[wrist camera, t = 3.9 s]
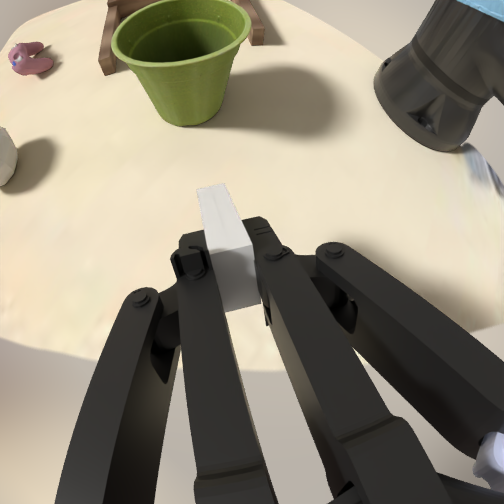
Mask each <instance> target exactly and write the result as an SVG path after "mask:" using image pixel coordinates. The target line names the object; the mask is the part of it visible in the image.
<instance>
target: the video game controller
mask: <svg viewBox="0 0 504 504" xmlns="http://www.w3.org/2000/svg"><path fill="white" fill-rule="evenodd" d="M43 47H44V45H43V44H42V43H41V42H32V43H19V44H15V47H13V48H12V49H11V51H10V52H9V54H8V58H9V60H10V62H11V64H12V65H13V66H12V69H13V70H14V71H15V72H17V73H18V74H21V75H29V74H37V73H41V72H44V71H47V70H49V69H50V68H51V67H52V66H53V60H52V59H51V58H31V57H29V56H32V55H35V54H37V53H39V52H40V51H42V49H43Z"/></svg>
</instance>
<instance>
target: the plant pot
mask: <svg viewBox="0 0 504 504" xmlns="http://www.w3.org/2000/svg"><path fill="white" fill-rule="evenodd" d="M251 25H252V24H251V19H250V17H249V15H248V13H247V12H246V11H245V10H244V9H243V8H242V7H240V6H238V5H237V4H235V3H233V2H231V1H228V0H162V1H159V2H156V3H153V4H150V5H148V6H146V7H144V8H142V9H140V10H138V11H136V12H135V13H133V14H132V15H130V16H129V17H128V18H126V19H125V20H124V21H123V22H122V23H121V24H120V25H119V26H118V28H117V29H116V31H115V32H114V34H113V36H112V40H111V48H112V51H113V52H114V54H115V55H116V56H117V57H118V58H119V59H120V60H122V61H123V62H125V63H127V65H128V66H129V68H130V69H131V70H132V71H133V72H134V73H135V74H136V76H137V77H138V79H139V81H140V82H141V84H142V86H143V87H144V89H145V91H146V93H147V94H148V96H149V98H150V99H151V101H152V103H153V104H154V106H155V108H156V110H157V111H158V113H159V115H160V116H161V117H162V118H163V120H165V121H166V122H168V123H170V124H173V125H176V126H184V125H198V124H201V123H203V122H205V121H207V120H209V119H211V118H212V117H213V116H214V115H215V114H216V113H217V112H218V111H219V109H220V107H221V105H222V101H223V98H224V94H225V90H226V86H227V82H228V78H229V74H230V71H231V67H232V63H233V60H234V57H235V56H236V54H237V52H238V50H239V47H240V44H241V43H242V42H243V41H244V40H245V39H246V38H247V36H248V35H249V33H250V30H251Z"/></svg>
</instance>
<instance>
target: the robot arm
mask: <svg viewBox="0 0 504 504" xmlns="http://www.w3.org/2000/svg"><path fill="white" fill-rule="evenodd" d="M374 90H375V93H376V96H377V98H378V100H379V102H380V104H381V106H382V107H383V109H384V110H385V112H386V113H387V114H388V116H389V117H390V118H391V119H392V120H393V121H394V123H395V124H396V125H397V126H398V127H399V128H401V129H402V130H403V131H404V132H405V133H406V134H408V135H409V136H410V137H412V138H413V139H414V140H416V141H417V142H419V143H421V144H423V145H425V146H427V147H429V148H431V149H434V150H438V151H452V150H454V149H456V148H457V147H459V146H460V145H461V144H462V143H463V142H464V141H465V140H466V139H467V138H468V137H469V135H470V132H471V130H472V128H473V126H474V124H475V122H476V120H477V117H478V115H479V113H480V110H481V108H482V107H483V105H484V104H485V103H486V102H487V101H488V100H489V99H490V98H492V97H493V96H495V97H496V98H498V100H499V101H500V102H501V103H502V104H503V105H504V0H436V1H435V2H434V4H433V6H432V8H431V9H430V11H429V13H428V14H427V16H426V18H425V19H424V21H423V22H422V24H421V26H420V27H419V29H418V31H417V32H416V34H415V36H414V37H413V39H412V41H411V42H410V43H409V44H407V45H406V46H405V47H403V48H402V49H400V50H399V51H397V52H396V53H395V54H393V55H392V56H391V57H390V58H388V59H386V60H385V61H384V62H383V63H382V64H381V66H380V68H379V69H378V71H377V73H376V75H375V77H374ZM197 195H198V200H199V206H200V211H201V217H202V222H203V227H204V230H200V231H196V232H192V233H188V234H183V235H182V237H181V239H180V240H179V249H177V250H175V252H174V253H173V254H172V255H171V258H170V260H171V263H172V266H173V269H174V272H175V275H176V278H177V282H176V283H175V284H174V285H173V286H172V287H170V288H168V289H167V290H165V291H162V292H160V293H158V292H157V290H155V289H153V288H149V287H145V288H140V289H137V290H135V291H133V292H132V293H130V294H129V295H128V296H127V297H126V299H125V300H124V302H123V304H122V306H121V309H120V311H119V313H118V315H117V318H116V320H115V322H114V324H113V327H112V329H111V331H110V334H109V336H108V338H107V341H106V343H105V346H104V348H103V351H102V353H101V356H100V358H99V361H98V363H97V366H96V369H95V371H94V374H93V376H92V379H91V382H90V384H89V387H88V390H87V393H86V396H85V398H84V401H83V404H82V407H81V410H80V413H79V416H78V419H77V422H76V425H75V428H74V431H73V435H72V438H71V441H70V445H69V448H68V451H67V455H66V459H65V462H64V466H63V470H62V474H61V478H60V482H59V486H58V490H57V495H56V499H55V504H154V500H155V492H156V485H157V478H158V471H159V465H160V458H161V452H162V446H163V440H164V434H165V428H166V423H167V417H168V412H169V406H170V401H171V396H172V390H173V385H174V380H175V375H176V370H177V366H178V361H179V356H180V351H181V352H182V363H183V373H184V382H185V391H186V399H187V408H188V415H189V422H190V430H191V436H192V442H193V449H194V456H195V462H196V467H197V477H196V479H195V481H194V496H195V502H196V504H279V503H278V500H277V497H276V495H275V492H274V488H273V485H272V482H271V479H270V476H269V473H268V470H267V466H266V463H265V460H264V457H263V453H262V450H261V446H260V443H259V439H258V436H257V432H256V429H255V425H254V422H253V419H252V415H251V411H250V408H249V404H248V401H247V397H246V393H245V389H244V386H243V382H242V378H241V374H240V371H239V367H238V363H237V359H236V355H235V351H234V347H233V343H232V339H231V335H230V331H229V327H228V323H227V319H226V316H225V312H229V311H233V310H237V309H241V308H245V307H249V306H253V305H257V304H261V299H262V302H263V307H264V314H265V321H266V326H268V325H269V326H270V329H271V331H272V334H273V337H274V339H275V342H276V345H277V347H278V350H279V352H280V355H281V358H282V360H283V363H284V365H285V368H286V371H287V373H288V376H289V378H290V381H291V383H292V386H293V389H294V391H295V394H296V396H297V399H298V402H299V404H300V407H301V409H302V412H303V414H304V417H305V419H306V422H307V425H308V427H309V430H310V432H311V435H312V437H313V440H314V442H315V445H316V447H317V450H318V452H319V455H320V458H321V460H322V463H323V465H324V468H325V472H326V477H327V481H328V485H329V487H330V490H331V493H332V496H333V498H334V500H333V501H331V502H329V503H328V504H504V362H503V361H502V360H501V359H500V358H499V357H497V356H496V355H495V354H494V353H493V352H491V351H490V350H489V349H488V348H486V347H485V346H484V345H483V344H481V343H480V342H479V341H478V340H477V339H475V338H474V337H473V336H472V335H470V334H469V333H468V332H467V331H465V330H464V329H463V328H462V327H460V326H459V325H458V324H456V323H455V322H454V321H453V320H451V319H450V318H449V317H447V316H446V315H445V314H443V313H442V312H441V311H439V310H438V309H437V308H435V307H434V306H433V305H431V304H430V303H429V302H427V301H426V300H425V299H423V298H422V297H421V296H419V295H418V294H416V293H415V292H414V291H412V290H411V289H410V288H408V287H407V286H405V285H404V284H403V283H401V282H400V281H398V280H397V279H396V278H394V277H393V276H391V275H390V274H389V273H387V272H386V271H384V270H383V269H381V268H380V267H378V266H377V265H376V264H374V263H373V262H371V261H370V260H368V259H367V258H365V257H364V256H362V255H361V254H359V253H358V252H356V251H355V250H354V249H352V248H351V247H349V246H347V245H345V244H343V243H338V242H328V243H324V244H322V245H320V246H319V247H318V248H317V249H316V255H296V254H294V252H293V251H292V250H291V249H290V248H289V247H287V246H284V245H282V244H281V242H280V241H279V239H278V237H277V236H276V234H275V232H274V231H273V229H272V228H271V227H270V224H269V223H268V221H267V220H266V219H264V218H262V217H260V216H258V217H253V218H249V219H244V220H241V218H240V216H239V214H238V212H237V210H236V207H235V205H234V203H233V201H232V199H231V197H230V194H229V192H228V190H227V188H226V186H225V183H222V184H218V185H213V186H209V187H204V188H200V189H197ZM260 296H261V298H260ZM352 347H353V348H354V349H355V350H356V351H357V352H358V353H359V354H360V355H361V356H362V357H363V358H364V359H365V360H366V361H367V362H368V363H369V364H370V365H371V366H372V367H373V368H374V369H375V370H376V371H377V372H378V373H379V374H380V375H381V376H382V377H383V378H384V379H385V380H386V381H387V382H388V383H389V384H390V385H391V386H393V388H394V389H395V390H396V391H397V392H398V393H399V394H401V396H402V397H404V399H405V400H407V401H408V402H409V403H410V404H411V405H412V406H413V407H414V408H415V409H416V410H417V411H418V412H419V413H420V414H421V415H422V416H423V417H424V418H425V419H426V420H427V421H428V422H429V423H430V424H431V425H432V426H433V427H434V428H435V429H436V430H437V431H438V432H439V433H440V434H441V435H442V436H443V437H444V438H445V439H446V440H447V441H448V442H449V443H450V444H451V445H453V446H454V447H455V448H456V449H458V450H459V451H461V452H462V453H464V454H465V455H467V456H469V457H471V458H473V459H475V460H476V463H475V464H474V466H473V474H474V475H475V476H476V477H478V478H481V477H482V478H483V479H484V480H486V481H487V482H488V484H489V485H490V487H491V489H487V488H483V487H480V486H476V485H473V484H470V483H467V482H464V481H460V480H458V479H455V478H452V477H449V476H446V475H443V474H440V473H437V472H436V471H435V469H434V467H433V465H432V463H431V461H430V460H429V458H428V456H427V454H426V452H425V450H424V449H423V447H422V445H421V443H420V441H419V440H418V438H417V436H416V434H415V433H414V431H413V429H412V428H411V426H410V425H409V423H408V422H407V421H406V420H404V419H403V418H402V417H397V416H393V415H392V414H391V413H390V411H389V410H388V408H387V407H386V405H385V403H384V401H383V399H382V398H381V396H380V394H379V393H378V391H377V389H376V387H375V385H374V384H373V382H372V380H371V379H370V377H369V375H368V373H367V372H366V370H365V368H364V366H363V365H362V363H361V361H360V360H359V358H358V356H357V355H356V353H355V351H354V350H353V348H352Z"/></svg>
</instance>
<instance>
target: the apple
mask: <svg viewBox="0 0 504 504" xmlns="http://www.w3.org/2000/svg"><path fill="white" fill-rule="evenodd" d="M17 160H18V153H17V148H16V147H15V145H14V143H13V141H12V139H11V137H10V136H9V134H8V132H7V131H6V129H5V128H3V127H0V186H2V185H4V184H6V183H7V181H8V180H9V179H10V178H11V177H12V175H13V174H14V171H15V167H16V163H17Z"/></svg>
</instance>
